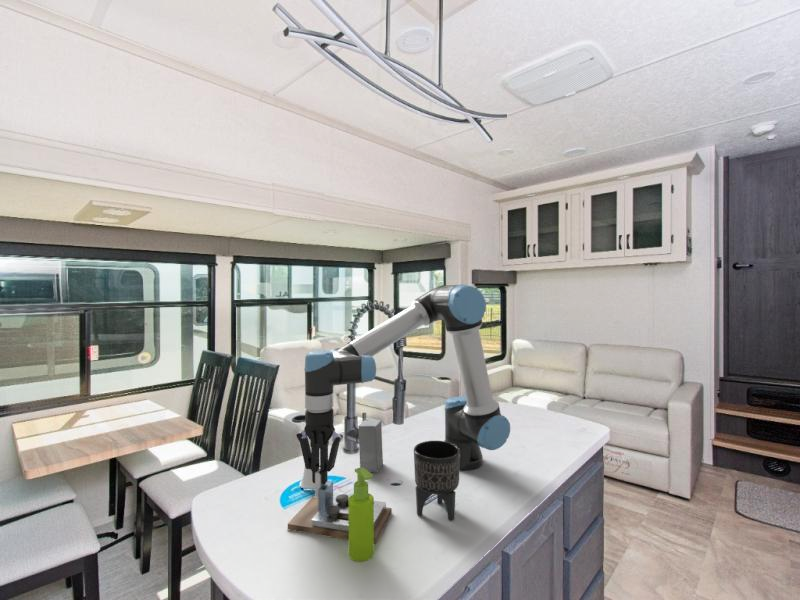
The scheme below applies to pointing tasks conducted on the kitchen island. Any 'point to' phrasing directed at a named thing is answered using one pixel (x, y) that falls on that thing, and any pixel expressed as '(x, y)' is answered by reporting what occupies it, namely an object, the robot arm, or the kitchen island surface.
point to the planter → (436, 473)
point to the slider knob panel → (329, 499)
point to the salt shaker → (307, 480)
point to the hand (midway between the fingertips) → (320, 494)
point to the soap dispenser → (361, 519)
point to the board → (313, 510)
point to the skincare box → (370, 445)
